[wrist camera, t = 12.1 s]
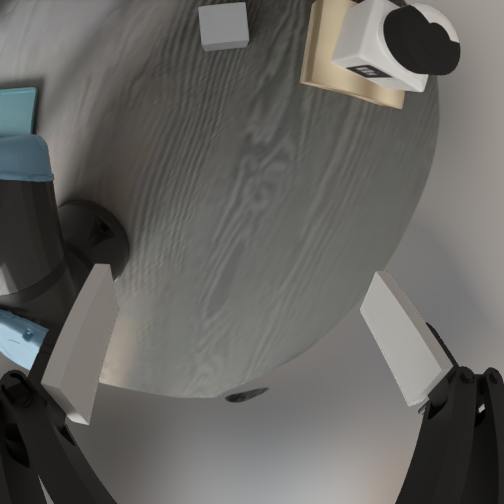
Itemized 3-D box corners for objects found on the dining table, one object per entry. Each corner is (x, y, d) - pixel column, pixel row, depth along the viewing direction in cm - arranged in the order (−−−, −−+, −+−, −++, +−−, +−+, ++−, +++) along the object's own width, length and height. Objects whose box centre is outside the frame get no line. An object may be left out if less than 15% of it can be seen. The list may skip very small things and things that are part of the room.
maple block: (298, 83, 31) (311, 81, 26) (310, 5, 25) (325, -8, 19) (379, 105, 32) (401, 109, 27) (390, 33, 26) (413, 28, 21)
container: (386, 89, 26) (460, 100, 15) (328, 62, 24) (389, 50, 13) (400, 39, 22) (475, 31, 11) (345, 9, 21) (407, -23, 10)
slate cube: (205, 51, 27) (201, 45, 23) (202, 18, 25) (198, 7, 20) (246, 47, 27) (249, 40, 23) (242, 13, 25) (245, 2, 21)
